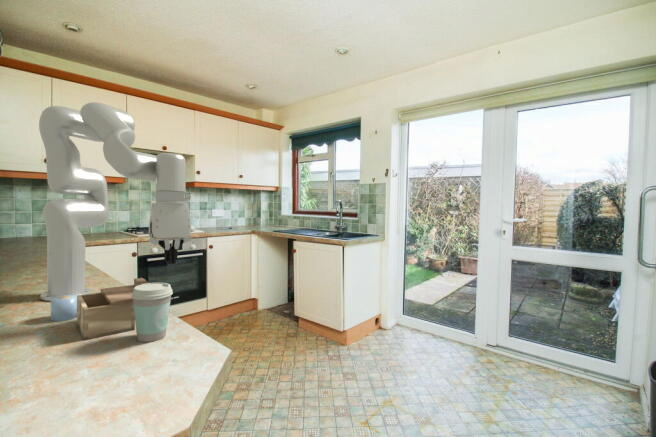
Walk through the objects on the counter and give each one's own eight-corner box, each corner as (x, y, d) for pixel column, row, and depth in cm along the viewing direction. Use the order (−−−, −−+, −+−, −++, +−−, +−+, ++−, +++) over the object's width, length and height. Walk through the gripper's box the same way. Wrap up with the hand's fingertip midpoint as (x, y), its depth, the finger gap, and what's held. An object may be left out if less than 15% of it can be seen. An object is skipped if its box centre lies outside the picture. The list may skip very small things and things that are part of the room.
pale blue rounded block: (50, 317, 84) (50, 296, 84) (76, 312, 88) (77, 293, 88) (51, 323, 80) (51, 301, 80) (79, 318, 84) (79, 297, 84)
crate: (76, 322, 81) (77, 295, 81) (122, 314, 88) (122, 289, 87) (83, 340, 71) (84, 309, 70) (134, 329, 78) (135, 301, 77)
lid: (100, 291, 84) (100, 281, 84) (142, 286, 91) (143, 276, 91) (110, 305, 74) (111, 293, 74) (157, 297, 81) (157, 287, 81)
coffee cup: (154, 346, 69) (155, 292, 68) (121, 342, 71) (121, 289, 70) (179, 332, 77) (180, 283, 77) (149, 328, 79) (150, 280, 79)
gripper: (192, 199, 96) (192, 259, 97) (137, 197, 86) (137, 264, 86) (202, 199, 91) (202, 262, 91) (144, 197, 80) (144, 268, 81)
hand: (170, 263), depth 89 cm, fingers closed
